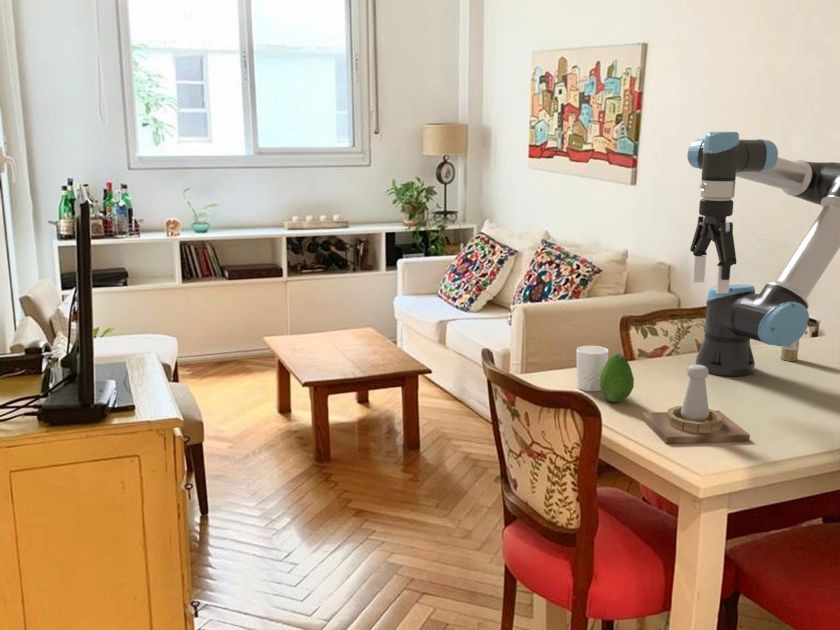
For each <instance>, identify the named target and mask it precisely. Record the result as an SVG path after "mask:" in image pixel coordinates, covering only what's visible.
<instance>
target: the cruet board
mask: <svg viewBox="0 0 840 630" xmlns="http://www.w3.org/2000/svg"><path fill="white" fill-rule="evenodd" d="M681 409H682V405H678V406H673V407H670V408H668V410H667V411H663V412H662V411H661V412H660V411H659V412H658V411H657V412H655V411H654V412H642V413H641V420H642V422H644V423H645V424H646V425H647V426H648V427H649V428H650V430H652V431H653V433H655V434H656V436H658V437H659V438H660V440H662V441H663V443H665V445H675V444H676V445H677V444H678V445H679V444H703V443H704V444H709V443H712V444H713V443H734V442H736V443H737V442H740V443H741V442H750V436H751V435H750V433H749V432H748V431H746V430H744V428H742V427H741V426H740V425H739V424H737V423H736V422H735V421H733V420H732V419H731V418H729V417H728V416H727V415H726V414H724V413H723V412H722V411H720V410H718V409H717V410H713V409H711V408H709V416H708V418H707V420H706V421H705V422H694V421H687V420H684V419H683V417H682V415H681Z"/></svg>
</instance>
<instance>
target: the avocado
mask: <svg viewBox="0 0 840 630" xmlns="http://www.w3.org/2000/svg"><path fill="white" fill-rule="evenodd" d="M630 365H631V364H630V363H629V361H628V360H627V358H626V357H625V356H624V355H622V354H620V353H614V354H611V355H610V356H609V357H608V361H607V363H606V365H605V366H604V368H603V371H602V373H601V376H600V387H601V391H600V392H601V394H602V395H603V397H604V398H605V399H606V400H607V401H610V402H613V403H620V402H623V401H624V400H626V399H627V398H628V397H630V395H631V393H632V391H633V389H634V384H635V378H634V376H633V375H634V374H633V371H632V368H631V366H630Z"/></svg>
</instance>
